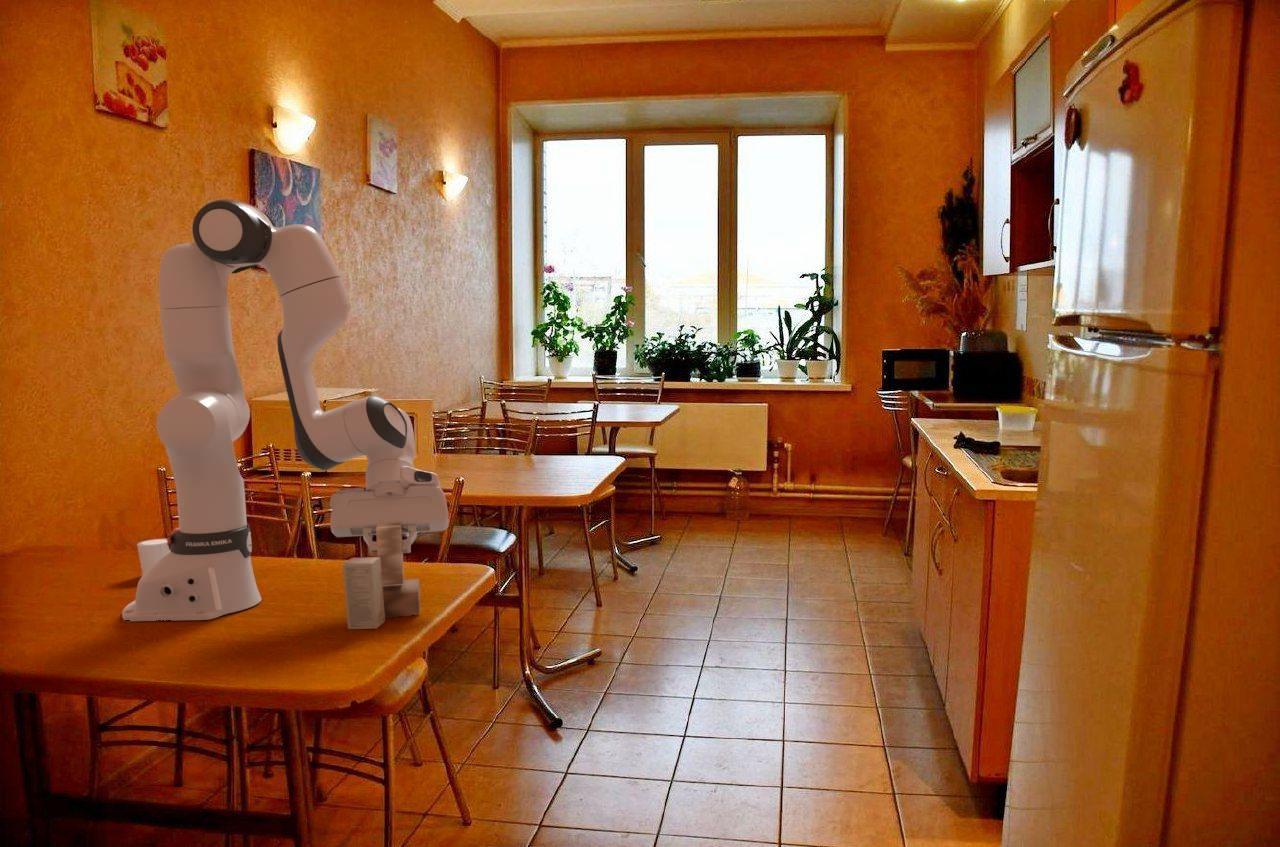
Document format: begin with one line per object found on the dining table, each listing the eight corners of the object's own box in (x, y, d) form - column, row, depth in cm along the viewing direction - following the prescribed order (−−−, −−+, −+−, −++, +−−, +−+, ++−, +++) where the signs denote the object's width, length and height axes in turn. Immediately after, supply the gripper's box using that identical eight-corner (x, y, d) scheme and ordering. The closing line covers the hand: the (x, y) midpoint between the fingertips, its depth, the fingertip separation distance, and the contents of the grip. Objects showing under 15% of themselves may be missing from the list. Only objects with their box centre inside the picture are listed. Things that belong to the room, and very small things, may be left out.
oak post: (379, 585, 171) (376, 528, 170) (380, 579, 175) (377, 523, 174) (403, 584, 172) (400, 526, 171) (404, 578, 176) (401, 522, 175)
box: (386, 621, 167) (382, 556, 166) (376, 629, 163) (373, 563, 162) (355, 621, 168) (352, 556, 167) (345, 629, 164) (341, 563, 163)
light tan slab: (364, 619, 169) (363, 596, 168) (368, 604, 178) (367, 582, 177) (419, 615, 171) (418, 592, 170) (420, 600, 179) (419, 578, 179)
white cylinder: (170, 569, 206) (168, 536, 206) (182, 575, 201) (179, 541, 201) (135, 575, 202) (132, 541, 201) (145, 582, 197) (143, 547, 196)
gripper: (328, 479, 177) (325, 546, 168) (446, 473, 180) (448, 538, 172) (333, 499, 181) (329, 565, 173) (447, 493, 185) (450, 558, 177)
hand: (390, 552), depth 172 cm, fingers closed on oak post, 4 cm apart
